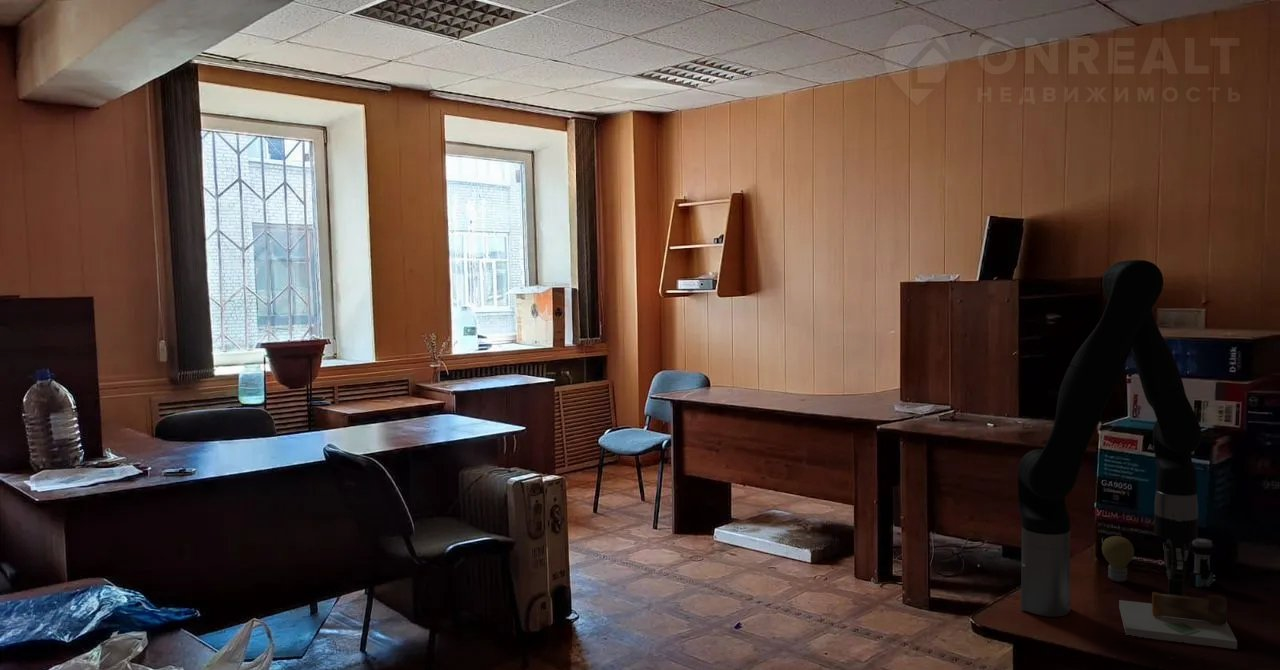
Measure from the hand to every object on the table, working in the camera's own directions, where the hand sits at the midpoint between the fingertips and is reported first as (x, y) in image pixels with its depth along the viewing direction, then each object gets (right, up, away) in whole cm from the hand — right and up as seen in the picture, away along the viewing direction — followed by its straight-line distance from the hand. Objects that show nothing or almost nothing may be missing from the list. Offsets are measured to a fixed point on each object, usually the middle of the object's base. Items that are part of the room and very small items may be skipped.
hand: (1174, 596), depth 178 cm
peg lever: (-1, -2, -7) cm, 7 cm away
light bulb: (-1, -2, +19) cm, 20 cm away
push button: (+16, -2, +15) cm, 22 cm away
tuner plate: (-4, -4, -6) cm, 8 cm away
